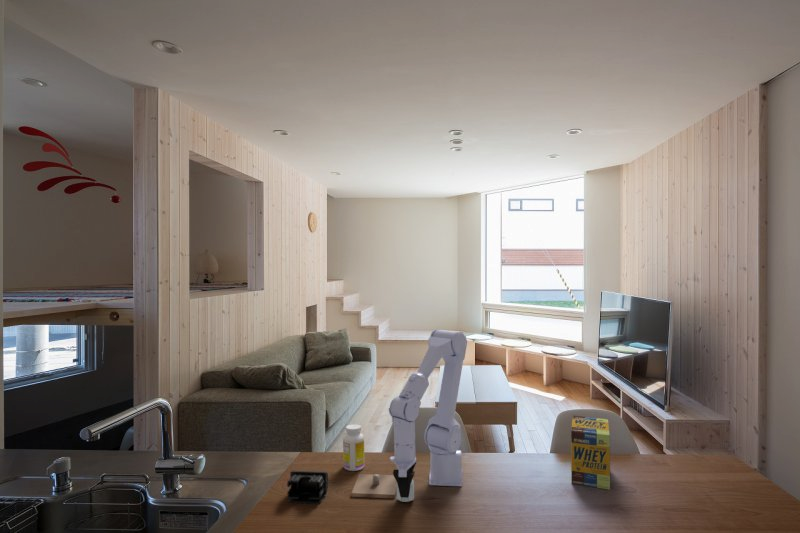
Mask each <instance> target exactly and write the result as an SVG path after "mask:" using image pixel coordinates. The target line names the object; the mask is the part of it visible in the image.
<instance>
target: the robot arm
mask: <svg viewBox="0 0 800 533" xmlns="http://www.w3.org/2000/svg"><path fill="white" fill-rule="evenodd" d="M427 344H428V349H427V350H426V352H425V355H424V357H423V359H422V361H421V363H420V366H419V367H418V370H417V371H416V372H414V373H411V374H410V376H409V377H408V379H407V381H406V382H405V384H404V387H403V388H402V390H401V392H400V393H399V395H397V396H396V397H394V398H393V399H392V400H391V402H390V404H389V408H388V413H389V416H391V422H392V424H393V445H394V446H393V447H394V448H393V451H394V452H393V453H394V454H393V455H394V456H390V457H389V462H392V463H394V465H395V467H396V468H397V469H393V472H392V475H394V477H395V479H396V481H397V484H398V488H399V493H400V496H401V497H407V498H408V497H409V492H410V485H411V481H412V479H413V478H414V477H415V471H414V469H415V466H416V464H417V457H416V419H417V418H418V416H419V414H420V408H421V404H422V402H421V400H422V398H423V397H424V395H425V393H426V391H427V389H428V388H429V386H430V382H429V377H430V376H431V374H432V373H433V371H434V369H435V368H436V367H437V365H438V364H439V362H440V360H441V359H443V361H444V367H443V372H442V378H441V383H440V390H439V396H438V403H437V409H436V414H435V415H433V416H432V417H431V418H430V419H428V423H427V427H426V428H425V431H424V434H423V436H424V437H423V438H424V442H425V444H426V445H427V447H428V450H430V454H429V455H430V456H429V457H430V458H429V459H430V471H429V480H428V485H429V486H446V487H447V486H449V487H462V486H463V476H464V471H463V469H462V468H463V467H462V466H463V465H462V462H463V460H462V458H463V457H462V450H460V449H459V448H460V447H461V443H462V437H461V429H462V427H461V425H460V423H458V421H457V420H456V419H455V414H456V408H457V400H458V395H459V389H460V384H461V383H460V382H461V376H462V371H463V369H462V368H463V364H464V360H465V357H466V353H467V352H466V351H467V345H468V339H467V338H466V335H465V334H464V332H463V331H459V330H458V331H455V330H445V329H439V328H436V329H433V330H432V332H431V333H430V336H429V337H428V339H427Z"/></svg>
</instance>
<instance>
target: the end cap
mask: <svg viewBox="0 0 800 533" xmlns="http://www.w3.org/2000/svg"><path fill="white" fill-rule="evenodd" d="M286 486H287V488H289V489H288V491H287V492H286V494H287V498H288V500H287V501H288V502H289V504H304V503H305V504H311V505H321V504H322V502H323V500H324V498H325V497H326V496H325V495H327V492H328V487H329V474H328V471H320V470H319V471H318V470H317V471H316V470H313V471H312V470H291V471H290V478H289V480H288V481H287V483H286ZM305 504H304V505H305Z"/></svg>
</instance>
